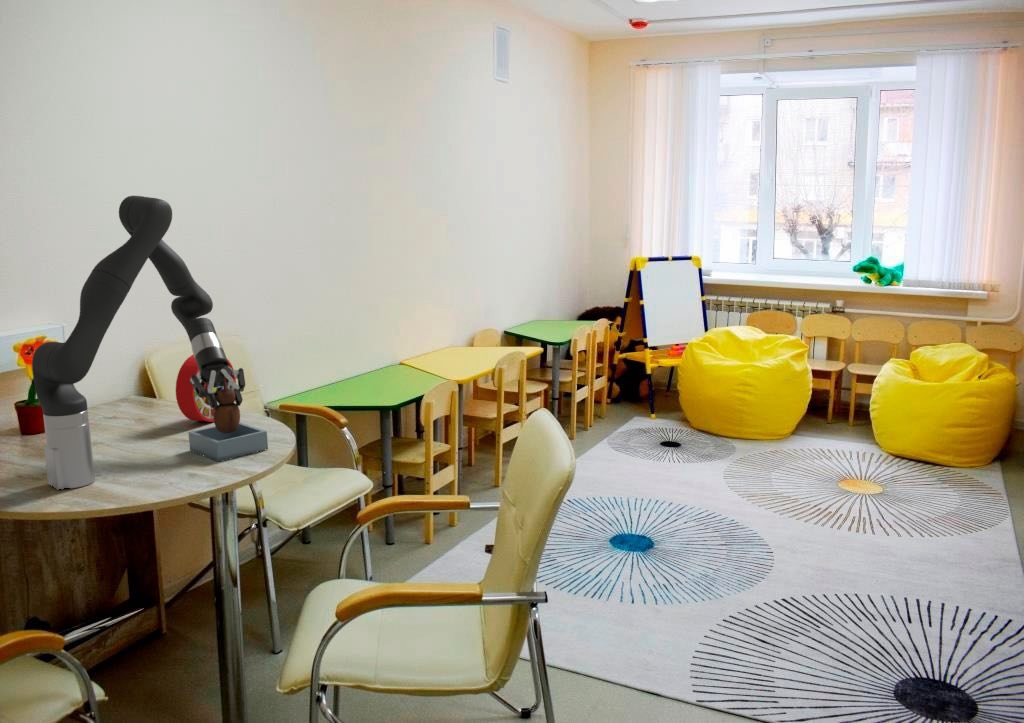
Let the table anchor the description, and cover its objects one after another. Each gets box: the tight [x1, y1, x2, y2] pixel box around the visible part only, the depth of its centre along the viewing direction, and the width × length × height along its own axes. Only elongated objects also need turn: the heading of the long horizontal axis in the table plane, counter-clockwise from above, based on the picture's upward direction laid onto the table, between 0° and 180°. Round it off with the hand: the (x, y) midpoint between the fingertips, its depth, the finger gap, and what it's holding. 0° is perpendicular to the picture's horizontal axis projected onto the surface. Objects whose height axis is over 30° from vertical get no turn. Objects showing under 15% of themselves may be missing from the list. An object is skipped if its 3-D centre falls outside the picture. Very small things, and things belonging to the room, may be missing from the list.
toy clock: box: [175, 354, 237, 423], centre depth 262 cm, size 20×6×20 cm, turn 161°
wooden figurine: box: [213, 377, 241, 433], centre depth 231 cm, size 7×6×15 cm
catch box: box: [187, 421, 269, 462], centre depth 232 cm, size 14×15×5 cm
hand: (227, 405), depth 229 cm, fingers closed on wooden figurine, 5 cm apart
